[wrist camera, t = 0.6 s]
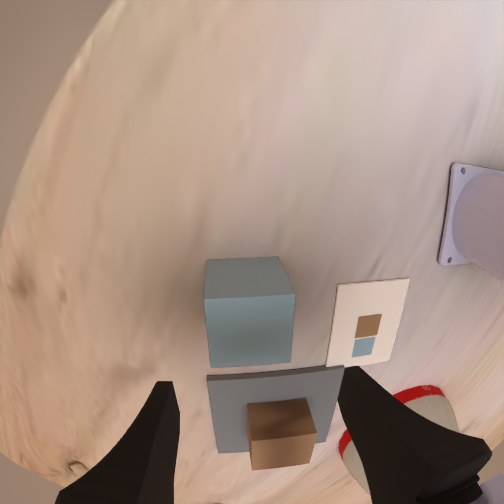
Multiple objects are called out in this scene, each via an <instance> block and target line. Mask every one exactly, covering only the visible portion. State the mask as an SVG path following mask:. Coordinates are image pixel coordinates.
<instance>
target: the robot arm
mask: <svg viewBox="0 0 504 504" xmlns="http://www.w3.org/2000/svg"><path fill="white" fill-rule="evenodd" d="M461 169H462V172H461ZM448 258H449V260H448ZM447 260H448V261H447ZM438 262H439V264H440V265H442V266H449V265H460V264H470V263H474V264H476V265H477V266H479V267H480V268H482V269H483V270H485V271H486V272H488V273H489V274H490V275H492V276H493V277H495V278H496V279H498V280H499V281H501V282H502V283H504V171H499V170H494V169H489V168H484V167H478V166H473V165H467V164H461V163H454V164H453V165H452V168H451V178H450V188H449V197H448V205H447V212H446V219H445V225H444V231H443V237H442V243H441V248H440V253H439V258H438ZM337 400H338V403H339V407H340V411H341V414H342V417H343V420H344V423H345V425H346V427H347V429H348V432H349V434H350V436H351V439H352V441H353V443H354V445H355V448H356V450H357V452H358V454H359V457H360V459H361V462H362V465H363V468H364V472H365V475H366V479H367V483H368V486H369V490H370V495H371V499H372V504H504V474H503V473H502V472H499V473H498V474H496V475H495V476H493V477H492V478H490V479H489V480H487V481H486V482H484V483H483V484H481V485H480V486H479V485H478V483H477V482H478V481H479V479H480V478H479V476H478V475H477V473H478V472H479V471H480V470H481V469H482V468H483V467H484V466H485V464H486V463H487V462H488V461H489V460H490V458H491V456H492V451H491V450H490V448H489V447H488V445H487V444H486V443H485V441H484V440H483V439H480V438H476V437H472V436H468V435H465V434H461V433H459V432H456V431H453V430H450V429H448V428H445V427H443V426H441V425H439V424H437V423H434V422H432V421H430V420H429V419H427V418H425V417H423V416H421V415H420V414H418V413H416V412H415V411H413V410H412V409H410V408H409V407H407V406H406V405H404V404H403V403H402V402H400V401H399V400H398V399H396V398H395V397H394V396H392V395H391V394H390V393H389V392H388V391H386V390H385V389H384V388H383V387H382V386H380V385H379V384H378V383H377V382H376V381H375V380H374V379H373V378H371V377H370V376H369V375H368V374H367V373H366V372H365V371H364V370H363V369H361V368H360V367H359V366H358V365H357V366H351V367H345V369H344V374H343V378H342V382H341V386H340V390H339V394H338V398H337ZM179 434H180V411H179V407H178V403H177V399H176V395H175V391H174V387H173V382H172V381H158V382H156V384H155V386H154V388H153V390H152V391H151V393H150V395H149V397H148V399H147V401H146V402H145V404H144V406H143V407H142V409H141V411H140V412H139V414H138V415H137V417H136V419H135V420H134V422H133V423H132V424H131V426H130V427H129V428H128V430H127V431H126V433H125V434H124V435H123V437H122V438H121V439H120V440H119V442H118V443H117V444H116V445H115V446H114V447H113V448H112V450H111V451H110V452H109V453H108V454H107V455H106V456H105V457H104V458H103V459H102V460H101V461H100V462H99V463H98V464H97V465H95V466H94V467H93V468H92V469H91V470H89V471H88V472H87V473H86V474H84V475H83V476H82V477H81V478H79V479H78V480H76V481H75V482H73V483H72V484H70V485H69V486H67V487H66V488H64V489H63V490H61V491H60V492H59V494H58V496H57V499H56V502H55V504H174V474H175V466H176V458H177V450H178V442H179Z"/></svg>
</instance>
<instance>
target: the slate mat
mask: <svg viewBox="0 0 504 504" xmlns="http://www.w3.org/2000/svg"><path fill="white" fill-rule="evenodd" d="M344 369H345V367H344V365H337V366H331V367H326V366H318V367H311V368H302V369H294V370H284V371H274V372H262V373H249V374H233V375H211V376H207V384H208V391H209V398H210V405H211V412H212V418H213V425H214V431H215V437H216V443H217V449H218V453H237V452H250V450H249V442H248V427H247V404H248V403H260V402H271V401H281V400H290V399H298V398H305V397H306V399H307V402H308V406H309V409H310V412H311V415H312V418H313V421H314V424H315V427H316V430H317V436H316V440H315V443H321V442H326V438H327V435H328V431H329V428H330V424H331V421H332V417H333V414H334V410H335V406H336V402H337V398H338V394H339V390H340V386H341V382H342V378H343V374H344Z"/></svg>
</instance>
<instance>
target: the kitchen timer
mask: <svg viewBox="0 0 504 504" xmlns="http://www.w3.org/2000/svg"><path fill="white" fill-rule="evenodd" d="M393 396H394V397H395V398H396V399H398V400H399V401H400V402H402V403H403V404H404V405H406V406H407V407H409V408H410V409H412V410H413V411H415V412H416V413H418V414H420V415H421V416H423V417H425V418H427V419H429V420H430V421H432V422H434V423H437V424H439V425H441V426H443V427H445V428H448V429H450V430H453V431H456V432H459V429H458V425H457V421H456V417H455V414H454V411H453V409H452V406H451V405H450V403H449V401H448V400H447V398H446V397H445V396H444V394H443V393H442V391H441V390H440V389H439V388H437V387H434V386H431V385H427V386H417V387H414V388H410V389H407V390H403V391H401V392H399V393H397V394H395V395H393ZM339 452H340V455H341V458H342V460H343V462H344V464H345V466H346V468H347V469H348V471H349V472H350V473H351V475H352V476H353V477H354V479H355V480H356V481H357V482H358V483H359V484H360V486H361V487H362V488H363V489H364V490H365V491H366V492H367V493H368V494H369V495H370V490H369V486H368V483H367V479H366V475H365V472H364V468H363V465H362V462H361V459H360V457H359V454H358V452H357V450H356V448H355V445H354V443H353V441H352V439H351V436H350V434H349V432H348V429H347V430H346V431H345V432H344V434H343V436H342V438H341V439H340V441H339ZM370 496H371V495H370Z"/></svg>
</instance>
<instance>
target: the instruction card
mask: <svg viewBox="0 0 504 504" xmlns="http://www.w3.org/2000/svg"><path fill="white" fill-rule="evenodd" d="M409 281H410V279H409V278H401V279H391V280H380V281H369V282H358V283H345V284H338V285H337V293H336V301H335V308H334V315H333V322H332V329H331V336H330V342H329V348H328V354H327V360H326V367H331V366H337V365H344V367H351V366H357V365H358V366H363V365H368V364H374V363H379V362H384V361H389V358H390V355H391V352H392V348H393V345H394V342H395V338H396V334H397V331H398V327H399V323H400V319H401V315H402V311H403V307H404V303H405V299H406V295H407V290H408V286H409Z"/></svg>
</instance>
